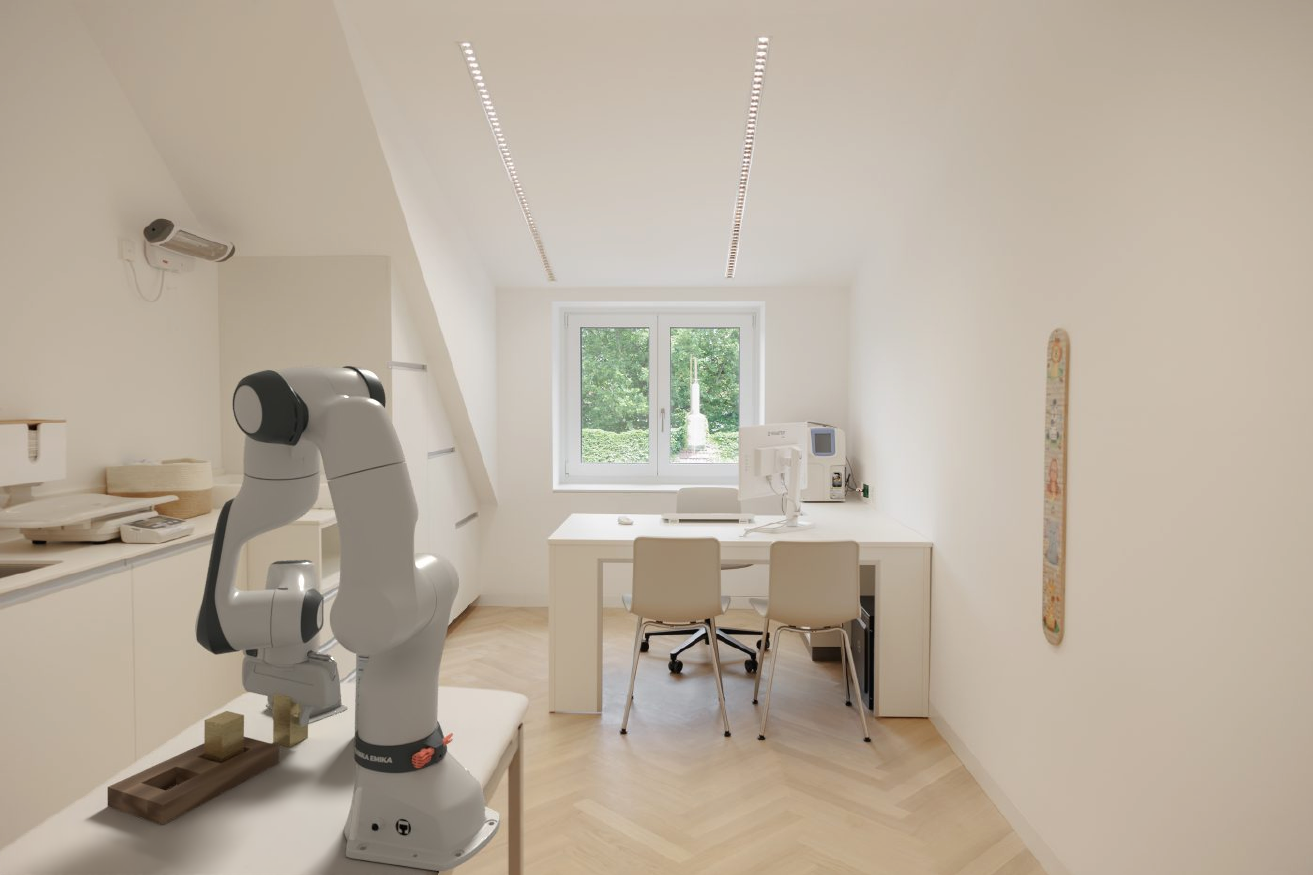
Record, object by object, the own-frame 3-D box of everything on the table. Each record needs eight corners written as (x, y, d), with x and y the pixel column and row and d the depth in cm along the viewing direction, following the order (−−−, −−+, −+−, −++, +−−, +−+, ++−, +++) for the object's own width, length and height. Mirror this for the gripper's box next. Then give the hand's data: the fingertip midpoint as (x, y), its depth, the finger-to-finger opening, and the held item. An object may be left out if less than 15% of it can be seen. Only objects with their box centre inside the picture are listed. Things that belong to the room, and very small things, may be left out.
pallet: (278, 762, 123) (279, 745, 123) (162, 825, 104) (162, 804, 104) (227, 748, 127) (228, 732, 127) (107, 806, 109) (107, 787, 109)
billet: (307, 737, 133) (308, 689, 132) (289, 746, 129) (290, 697, 129) (291, 733, 134) (291, 685, 134) (273, 742, 130) (273, 693, 130)
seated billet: (243, 767, 121) (244, 715, 121) (221, 778, 118) (222, 724, 117) (226, 762, 123) (226, 710, 122) (204, 773, 119) (204, 720, 119)
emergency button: (307, 672, 154) (350, 689, 145) (307, 693, 154) (349, 711, 145) (264, 686, 146) (306, 705, 138) (263, 707, 146) (305, 727, 138)
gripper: (349, 650, 130) (348, 725, 131) (265, 634, 137) (264, 705, 138) (322, 661, 124) (321, 740, 125) (235, 644, 131) (234, 718, 132)
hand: (290, 722), depth 131 cm, fingers closed on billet, 4 cm apart
